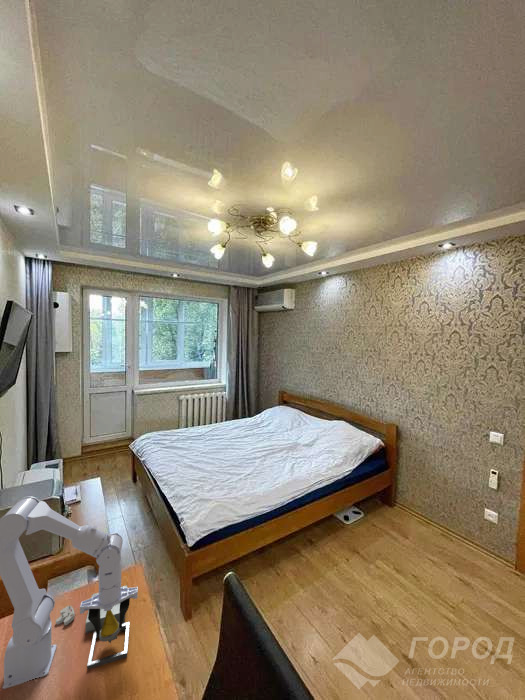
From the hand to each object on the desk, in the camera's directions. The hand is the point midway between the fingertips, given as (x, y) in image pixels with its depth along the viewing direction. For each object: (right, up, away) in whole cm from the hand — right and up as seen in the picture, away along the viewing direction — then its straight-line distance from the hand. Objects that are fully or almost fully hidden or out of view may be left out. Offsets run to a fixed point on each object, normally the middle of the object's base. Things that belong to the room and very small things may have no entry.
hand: (109, 628), depth 83 cm
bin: (-6, -5, +11) cm, 13 cm away
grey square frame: (0, -6, 0) cm, 6 cm away
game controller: (-19, -7, +7) cm, 21 cm away
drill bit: (0, -5, 0) cm, 5 cm away
